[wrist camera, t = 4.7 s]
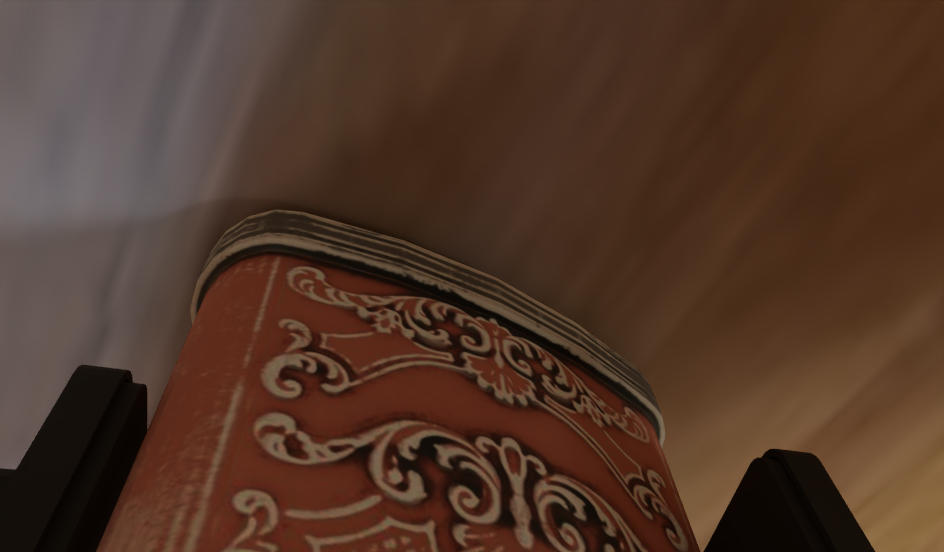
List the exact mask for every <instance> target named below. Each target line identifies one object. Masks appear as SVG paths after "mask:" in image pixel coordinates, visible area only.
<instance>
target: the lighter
mask: <svg viewBox="0 0 944 552" xmlns="http://www.w3.org/2000/svg"><path fill="white" fill-rule="evenodd" d="M190 313H191V321H192V328H191V330H190V332H189V335H188V337H187V339H186V342H185V344H184V346H183V349H182V351H181V353H180V356H179V358H178V360H177V363H176V365H175V368H174V370H173V372H172V375H171V377H170V379H169V382H168V384H167V386H166V389H165V391H164V393H163V396H162V398H161V400H160V403H159V405H158V407H157V410H156V412H155V414H154V417H153V419H152V422H151V424H150V426H149V429H148V431H147V433H146V436H145V438H144V440H143V443H142V445H141V447H140V450H139V452H138V454H137V457H136V459H135V461H134V464H133V466H132V469H131V471H130V473H129V476H128V478H127V480H126V483H125V485H124V487H123V490H122V492H121V494H120V497H119V499H118V501H117V504H116V506H115V508H114V511H113V513H112V515H111V518H110V520H109V523H108V525H107V527H106V530H105V532H104V534H103V537H102V539H101V541H100V544H99V546H98V548H97V551H96V552H700V550H699V547H698V544H697V542H696V539H695V536H694V534H693V531H692V528H691V526H690V523H689V520H688V518H687V515H686V512H685V510H684V507H683V504H682V501H681V499H680V496H679V493H678V491H677V488H676V485H675V483H674V480H673V477H672V475H671V472H670V469H669V467H668V464H667V461H666V459H665V456H664V453H663V451H662V447H663V443H664V439H665V435H666V434H665V428H664V423H663V417H662V414H661V412H660V409H659V407H658V404H657V402H656V399H655V397H654V394H653V392H652V389H651V386H650V384H649V382H648V381H647V380H646V378H645V377H644V376H643V375H642V374H641V372H640V371H639V370H638V369H637V368H636V367H634V366H633V365H632V364H630V363H629V362H628V361H626V360H625V359H624V358H622V357H621V356H620V355H618V354H617V353H616V352H614V351H613V350H612V349H610V348H609V347H608V346H606V345H605V344H604V343H602V342H601V341H600V340H598V339H597V338H596V337H594V336H593V335H592V334H590V333H589V332H588V331H586V330H585V329H583V328H582V327H581V326H579V325H578V324H577V323H575V322H574V321H572V320H570V319H568V318H567V317H565V316H563V315H561V314H560V313H558V312H556V311H554V310H552V309H551V308H549V307H547V306H545V305H544V304H542V303H540V302H538V301H537V300H535V299H533V298H531V297H530V296H528V295H526V294H524V293H523V292H521V291H519V290H517V289H516V288H514V287H512V286H510V285H508V284H507V283H505V282H503V281H501V280H500V279H498V278H496V277H493V276H491V275H489V274H486V273H484V272H481V271H479V270H476V269H474V268H471V267H469V266H466V265H464V264H461V263H459V262H456V261H454V260H451V259H449V258H446V257H444V256H441V255H439V254H436V253H434V252H431V251H429V250H426V249H424V248H421V247H419V246H416V245H414V244H411V243H409V242H406V241H404V240H401V239H397V238H393V237H390V236H386V235H383V234H379V233H376V232H372V231H369V230H365V229H362V228H358V227H354V226H351V225H347V224H344V223H340V222H337V221H333V220H330V219H326V218H322V217H319V216H315V215H312V214H308V213H305V212H298V211H287V210H272V211H268V212H264V213H260V214H256V215H252V216H249V217H247V218H246V219H244V220H242V221H241V222H239V223H238V224H236V225H235V226H233V227H232V228H230V229H229V230H227V231H226V232H225V233H224V235H223V236H222V237H221V239H220V240H219V242H218V243H217V244H216V246H215V247H214V248H213V250H212V251H211V252H210V254H209V257H208V259H207V261H206V263H205V265H204V268H203V270H202V272H201V274H200V276H199V279H198V281H197V283H196V287H195V291H194V294H193V298H192V302H191V306H190Z"/></svg>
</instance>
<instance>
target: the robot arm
mask: <svg viewBox="0 0 944 552" xmlns="http://www.w3.org/2000/svg"><path fill="white" fill-rule="evenodd" d="M146 433H147V387H146V385H145V384H138V383H133V380H132V374H131V371H129V370H122V369H113V368H105V367H97V366H89V365H81V366H79V367H78V368H77V369H76V370H75V372H74V373H73V375H72V377H71V378H70V380H69V382H68V383H67V385H66V387H65V388H64V390H63V392H62V393H61V395H60V397H59V398H58V400H57V402H56V404H55V405H54V407H53V409H52V410H51V412H50V414H49V415H48V417H47V419H46V420H45V422H44V424H43V425H42V427H41V429H40V430H39V432H38V434H37V436H36V437H35V439H34V441H33V442H32V444H31V446H30V447H29V449H28V451H27V452H26V454H25V456H24V457H23V459H22V461H21V462H20V464H19V466H18V468H17V469H16V470H11V469H1V468H0V552H96V551H97V548H98V546H99V544H100V541H101V539H102V537H103V534H104V532H105V530H106V527H107V525H108V523H109V520H110V518H111V515H112V513H113V511H114V508H115V506H116V504H117V501H118V499H119V497H120V494H121V492H122V490H123V487H124V485H125V483H126V480H127V478H128V476H129V473H130V471H131V469H132V466H133V464H134V461H135V459H136V457H137V454H138V452H139V450H140V447H141V445H142V443H143V440H144V438H145V436H146ZM704 552H875V551H874V549H873V547H872V546H871V544H870V542H869V541H868V539H867V537H866V536H865V534H864V532H863V531H862V529H861V528H860V526H859V524H858V523H857V521H856V519H855V518H854V516H853V514H852V513H851V511H850V509H849V508H848V506H847V504H846V503H845V501H844V499H843V498H842V496H841V494H840V493H839V491H838V490H837V488H836V486H835V485H834V483H833V481H832V480H831V478H830V476H829V475H828V473H827V471H826V470H825V468H824V466H823V465H822V463H821V462H820V460H819V459H818V458H817V457H816V456H815V455H813V454H811V453H806V452H797V451H789V450H781V449H770V450H768V451H766V452H765V453H764V455H763V456H762V457H761V458H756V459H754V460H753V461H752V462H751V464H750V466H749V467H748V469H747V471H746V473H745V475H744V477H743V479H742V481H741V483H740V484H739V486H738V488H737V490H736V492H735V494H734V496H733V498H732V500H731V501H730V503H729V505H728V507H727V509H726V511H725V513H724V515H723V516H722V518H721V520H720V522H719V524H718V526H717V528H716V530H715V532H714V533H713V535H712V537H711V539H710V541H709V543H708V545H707V547H706V548H705V550H704Z"/></svg>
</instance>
